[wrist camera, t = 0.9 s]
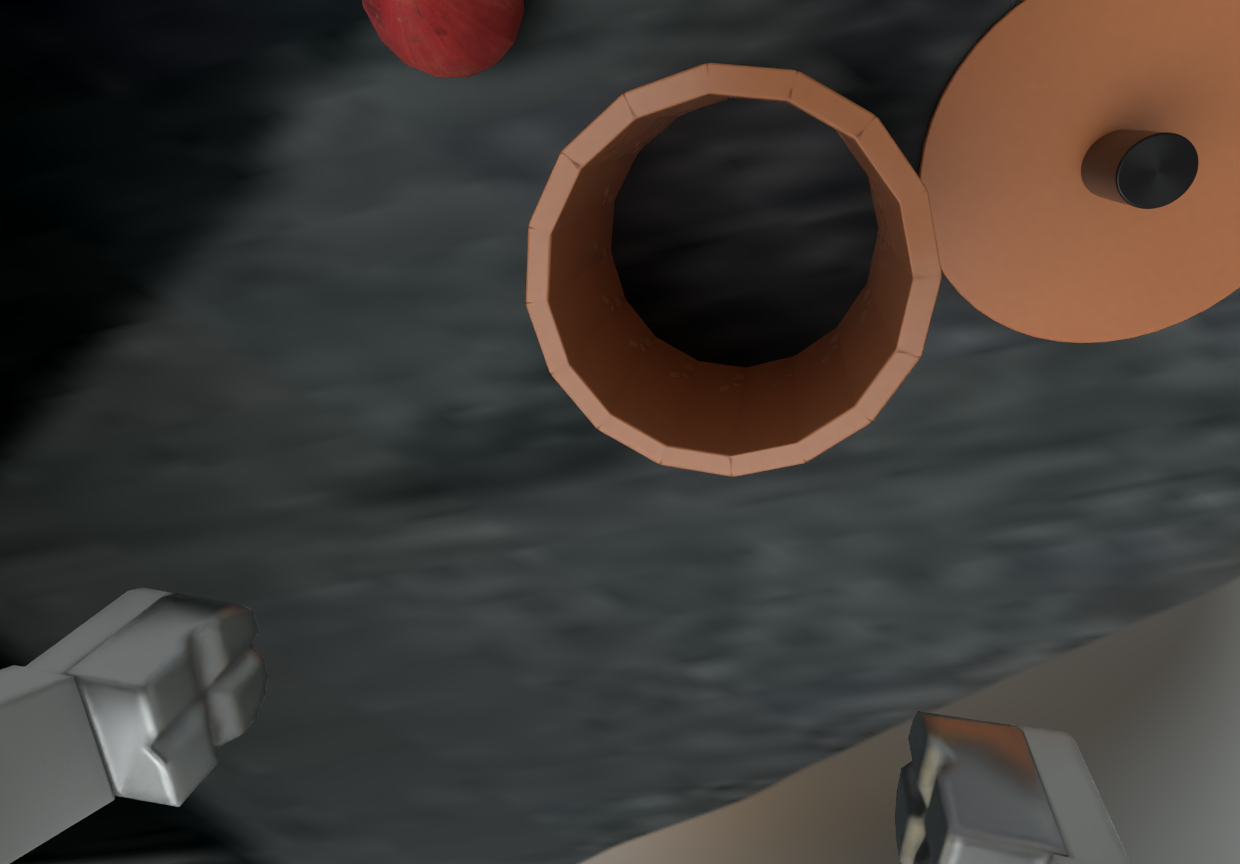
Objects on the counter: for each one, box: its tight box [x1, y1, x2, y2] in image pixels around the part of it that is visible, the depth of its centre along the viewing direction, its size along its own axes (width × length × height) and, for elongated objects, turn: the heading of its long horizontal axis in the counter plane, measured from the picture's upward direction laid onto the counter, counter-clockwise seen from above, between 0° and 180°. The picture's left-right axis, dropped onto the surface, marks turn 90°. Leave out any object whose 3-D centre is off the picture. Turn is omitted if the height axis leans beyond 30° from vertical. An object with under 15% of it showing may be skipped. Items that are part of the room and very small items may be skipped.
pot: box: [526, 63, 942, 477], centre depth 28 cm, size 13×13×10 cm
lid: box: [919, 0, 1240, 343], centre depth 27 cm, size 14×14×5 cm
